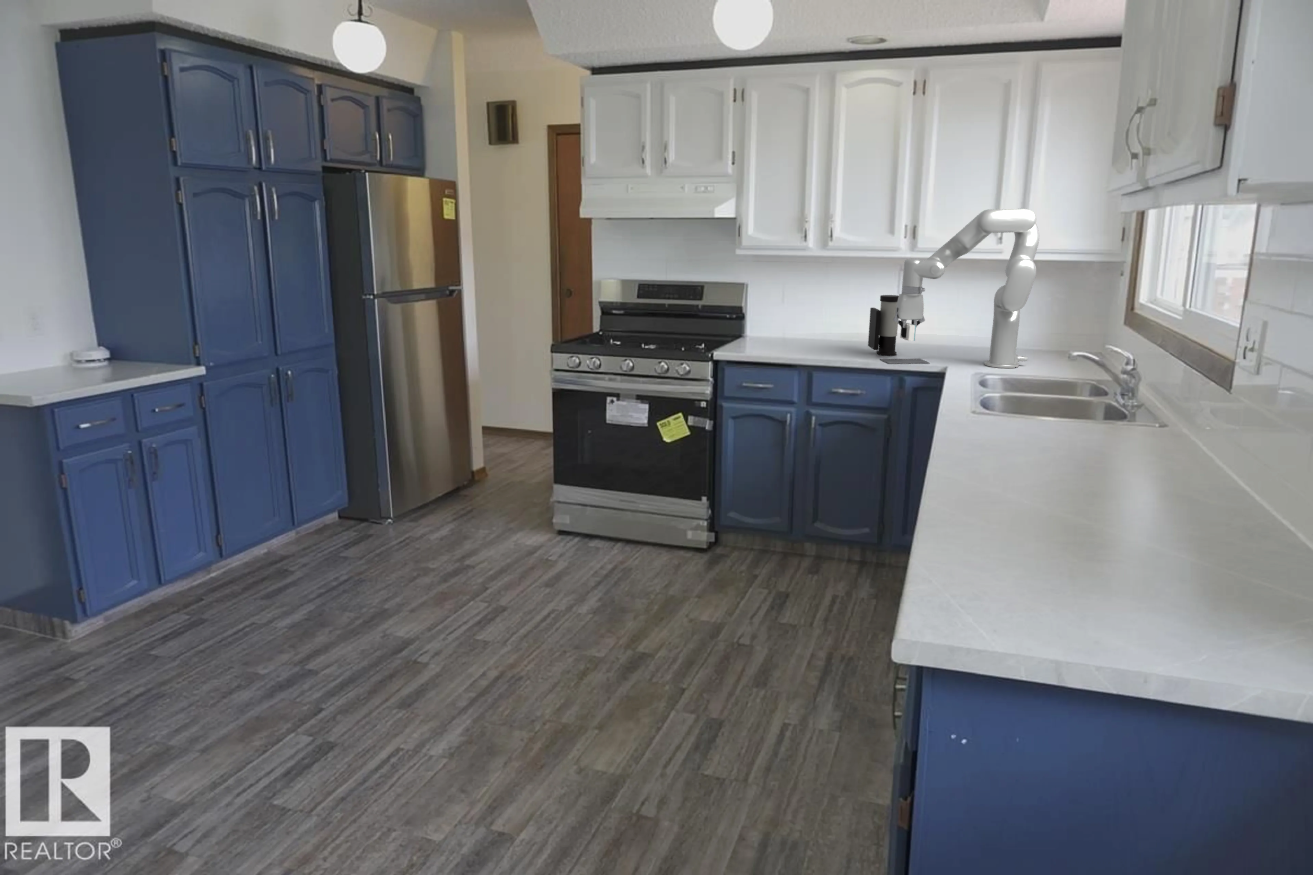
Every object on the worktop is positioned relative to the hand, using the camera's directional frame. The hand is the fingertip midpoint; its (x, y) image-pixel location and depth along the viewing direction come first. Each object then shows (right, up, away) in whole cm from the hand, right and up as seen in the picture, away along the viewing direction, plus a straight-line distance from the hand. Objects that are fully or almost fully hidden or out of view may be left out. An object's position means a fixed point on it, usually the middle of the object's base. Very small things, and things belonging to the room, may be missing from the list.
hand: (907, 337), depth 348 cm
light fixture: (-4, -5, +23) cm, 23 cm away
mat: (0, -9, +4) cm, 10 cm away
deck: (0, -1, 0) cm, 1 cm away
